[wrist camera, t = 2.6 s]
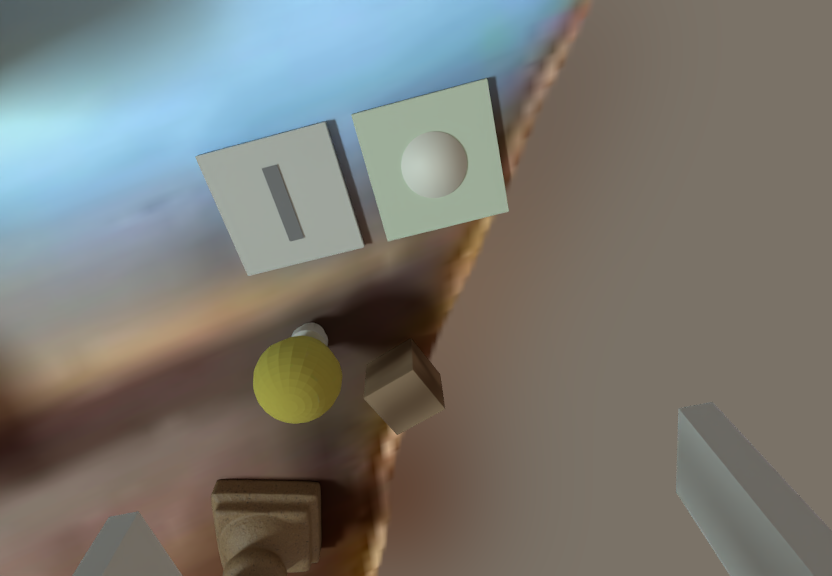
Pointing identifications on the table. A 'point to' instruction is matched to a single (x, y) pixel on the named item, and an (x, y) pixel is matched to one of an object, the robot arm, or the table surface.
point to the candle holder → (267, 526)
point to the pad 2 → (433, 159)
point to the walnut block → (403, 387)
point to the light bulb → (298, 376)
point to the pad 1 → (283, 198)
